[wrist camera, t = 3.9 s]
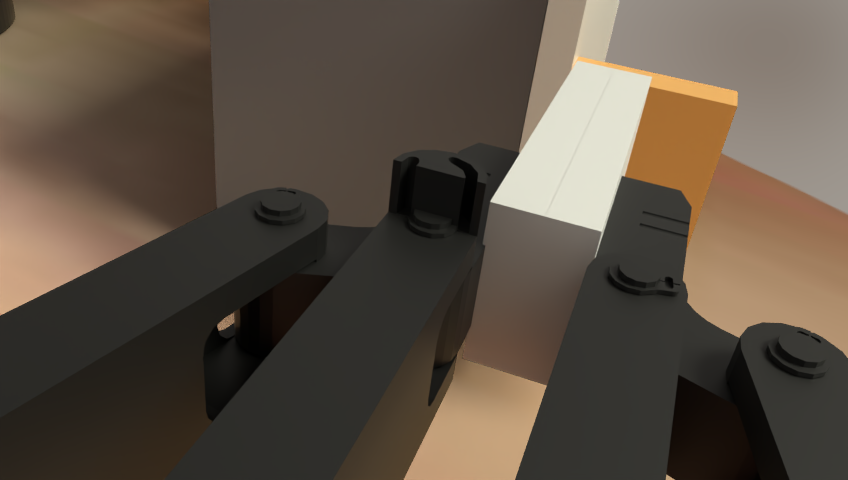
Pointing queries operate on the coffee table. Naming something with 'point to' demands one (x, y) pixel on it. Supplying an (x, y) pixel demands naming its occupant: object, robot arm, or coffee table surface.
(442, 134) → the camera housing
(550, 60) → the white boxy piece
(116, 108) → the coffee table surface
